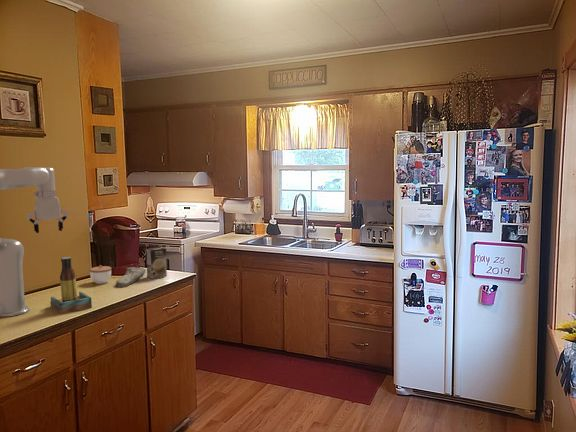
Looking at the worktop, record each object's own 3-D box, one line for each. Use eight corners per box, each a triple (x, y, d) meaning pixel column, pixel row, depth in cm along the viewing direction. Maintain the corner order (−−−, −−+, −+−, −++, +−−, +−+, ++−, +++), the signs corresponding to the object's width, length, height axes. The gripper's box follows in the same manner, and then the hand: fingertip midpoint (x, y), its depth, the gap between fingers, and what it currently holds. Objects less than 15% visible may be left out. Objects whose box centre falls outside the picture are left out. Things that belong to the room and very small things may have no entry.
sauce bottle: (72, 298, 209) (69, 255, 207) (80, 301, 206) (78, 256, 204) (58, 302, 204) (55, 258, 201) (66, 304, 200) (64, 259, 198)
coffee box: (151, 279, 256) (150, 250, 254) (146, 276, 261) (145, 248, 259) (167, 276, 262) (166, 248, 260) (162, 274, 267) (161, 246, 265)
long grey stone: (110, 290, 239) (130, 291, 239) (110, 280, 238) (130, 281, 238) (132, 271, 273) (149, 272, 273) (132, 262, 272) (149, 263, 273)
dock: (60, 313, 196) (59, 303, 195) (50, 306, 206) (50, 296, 206) (91, 307, 205) (91, 297, 204) (81, 300, 215) (80, 291, 214)
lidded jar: (88, 285, 242) (87, 267, 241) (92, 280, 253) (91, 263, 252) (110, 284, 244) (109, 267, 243) (113, 279, 255) (112, 262, 254)
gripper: (26, 195, 204) (29, 234, 206) (69, 194, 214) (71, 230, 216) (23, 195, 210) (26, 232, 212) (64, 193, 220) (67, 229, 222)
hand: (49, 231), depth 214 cm, fingers open, 9 cm apart
